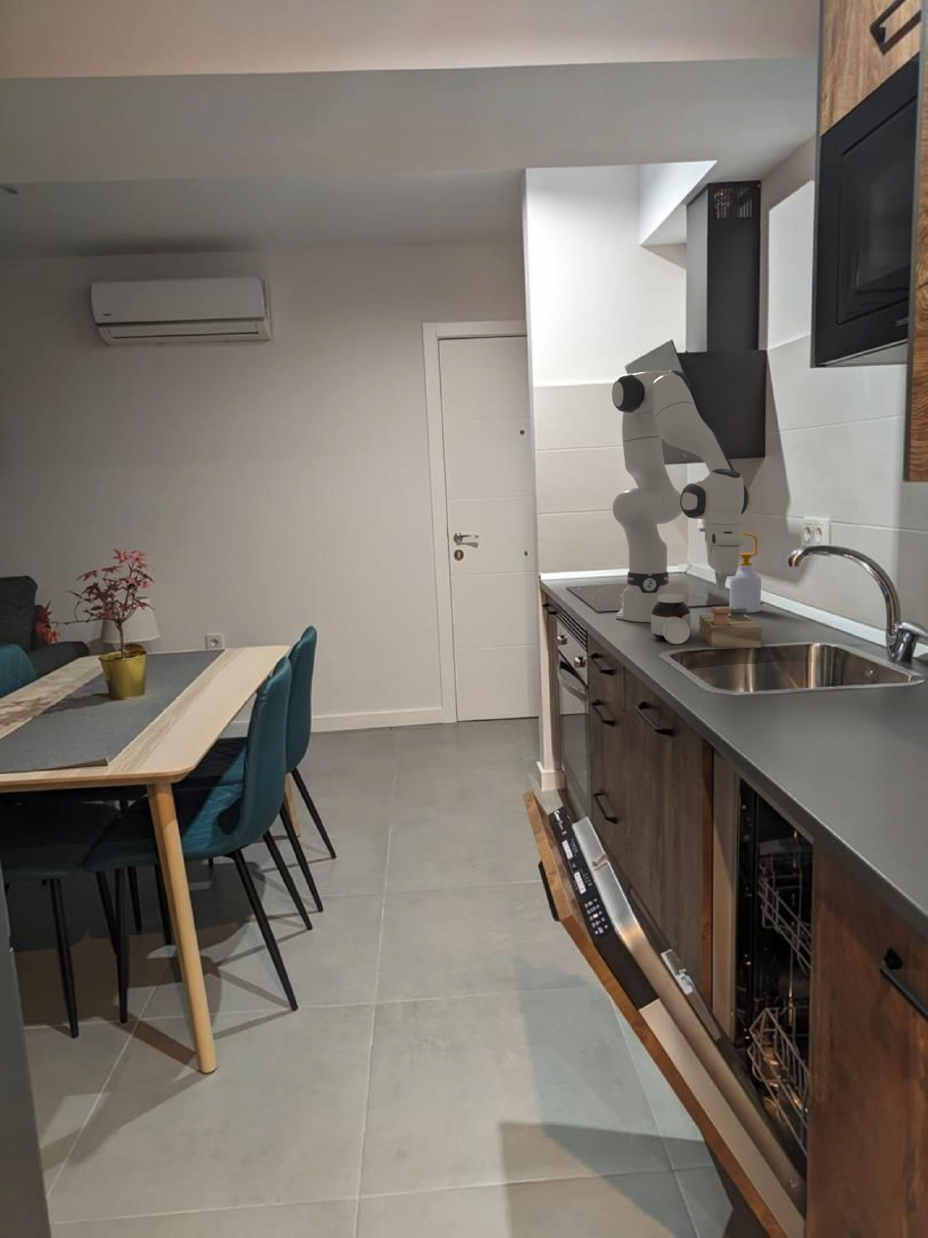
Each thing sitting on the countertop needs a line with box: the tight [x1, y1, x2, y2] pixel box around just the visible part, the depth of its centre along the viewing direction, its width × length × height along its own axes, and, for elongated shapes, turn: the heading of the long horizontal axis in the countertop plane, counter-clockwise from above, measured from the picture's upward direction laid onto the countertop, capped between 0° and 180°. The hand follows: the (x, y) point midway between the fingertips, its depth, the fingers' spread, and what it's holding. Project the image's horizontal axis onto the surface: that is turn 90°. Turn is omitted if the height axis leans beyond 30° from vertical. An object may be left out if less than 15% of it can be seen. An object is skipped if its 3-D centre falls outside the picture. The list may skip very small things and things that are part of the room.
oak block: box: [698, 613, 763, 649], centre depth 221 cm, size 20×12×5 cm, turn 173°
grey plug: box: [728, 606, 747, 619], centre depth 225 cm, size 5×5×7 cm
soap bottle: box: [728, 531, 762, 614], centre depth 261 cm, size 9×9×25 cm
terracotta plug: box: [710, 606, 731, 626], centre depth 216 cm, size 5×5×7 cm
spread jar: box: [650, 593, 691, 645], centre depth 221 cm, size 12×11×12 cm
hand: (720, 588), depth 215 cm, fingers closed
